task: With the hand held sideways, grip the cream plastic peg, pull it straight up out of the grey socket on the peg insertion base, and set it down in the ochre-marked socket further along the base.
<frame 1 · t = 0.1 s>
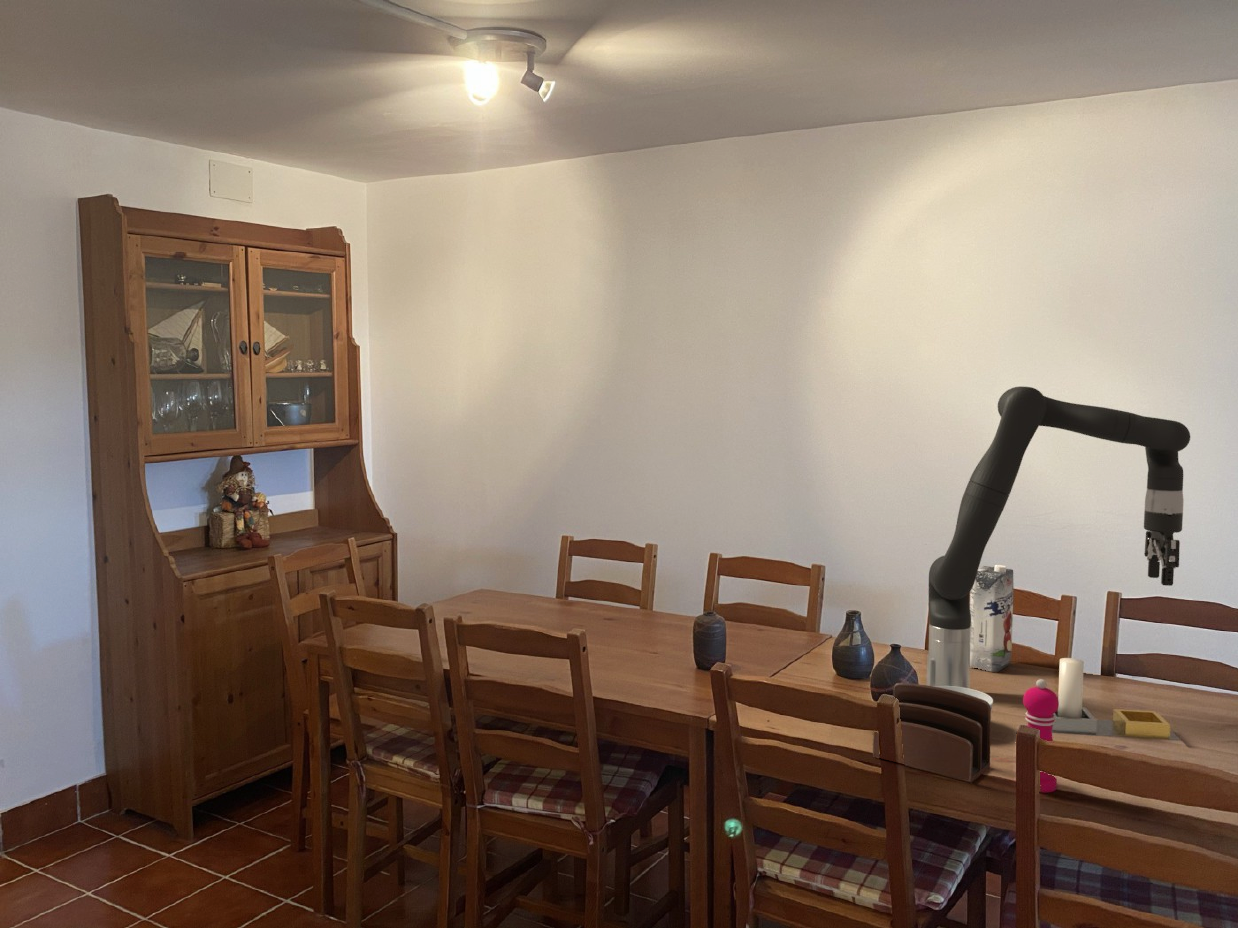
hand: (1160, 581, 220), 29 cm above the table, tool pointing down, fingers open, 8 cm apart
letter holder: (930, 764, 191), on the table
chinaware: (954, 733, 208), on the table
juice carton: (989, 667, 255), on the table
pepper mill: (1037, 786, 180), on the table
cream peg: (1069, 725, 208), point 1 cm above the table, touching peg insertion base
peg insertion base: (1104, 733, 207), on the table
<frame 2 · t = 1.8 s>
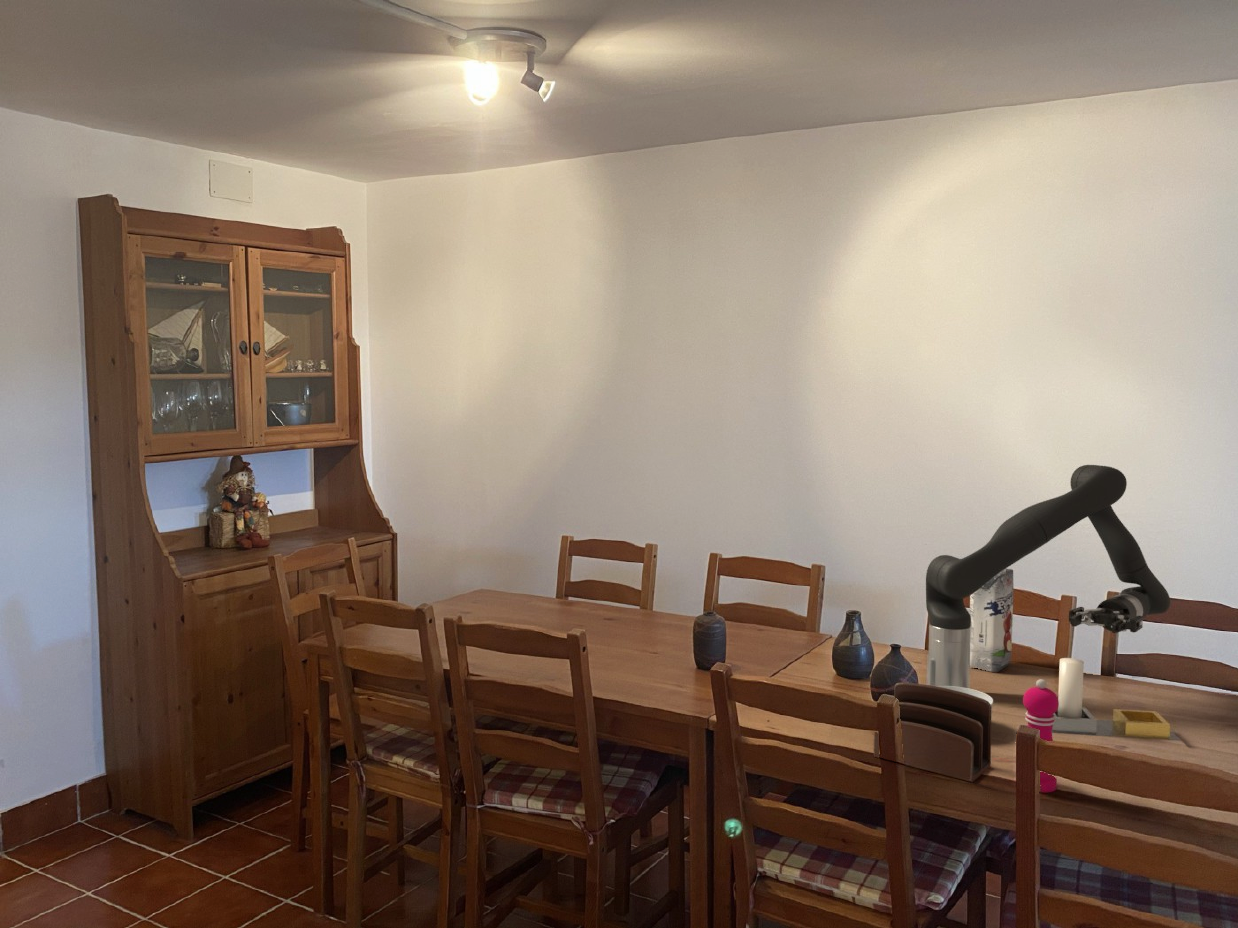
hand: (1093, 625, 214), 21 cm above the table, tool horizontal, fingers open, 8 cm apart
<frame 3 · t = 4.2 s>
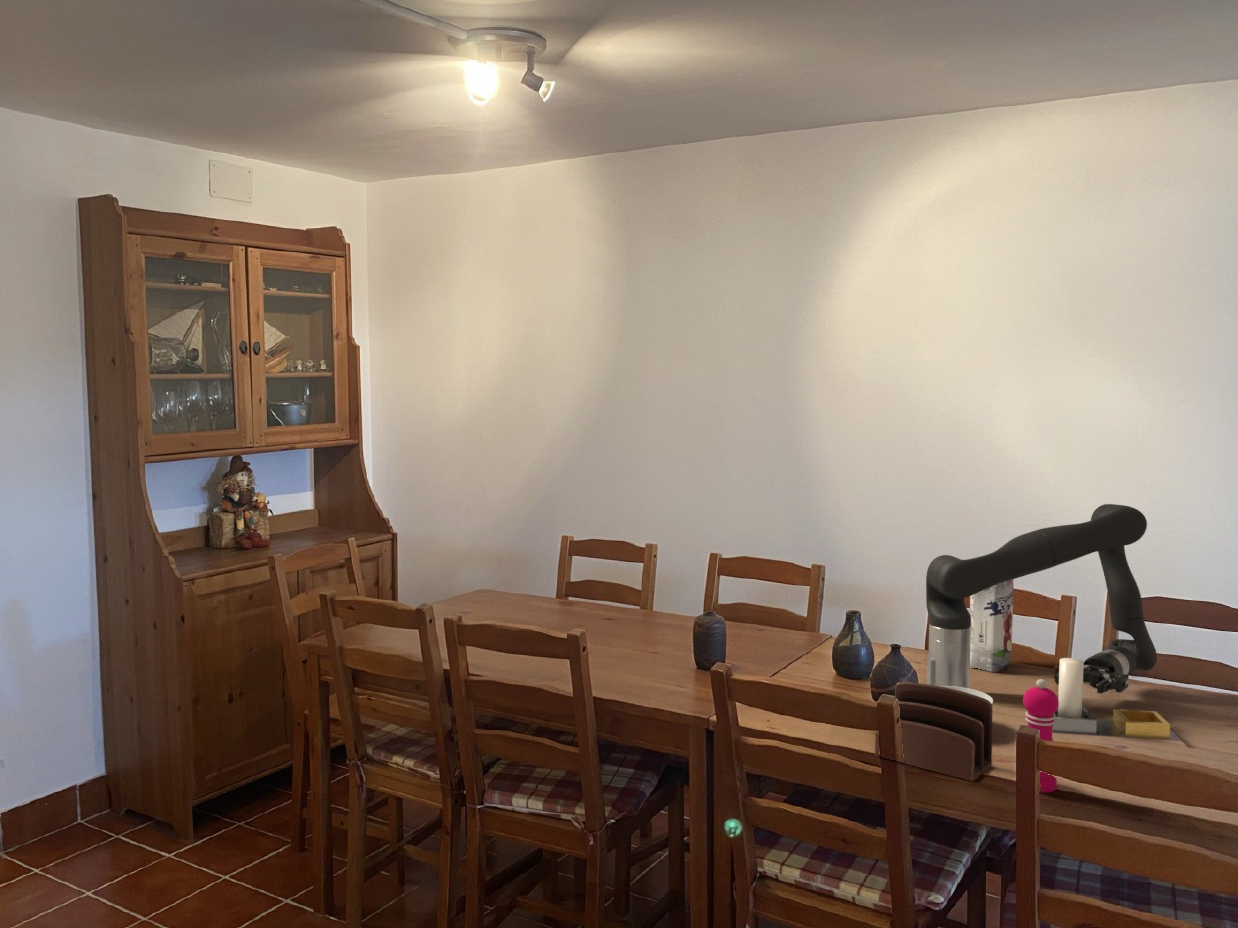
hand: (1078, 684, 210), 9 cm above the table, tool horizontal, fingers open, 8 cm apart
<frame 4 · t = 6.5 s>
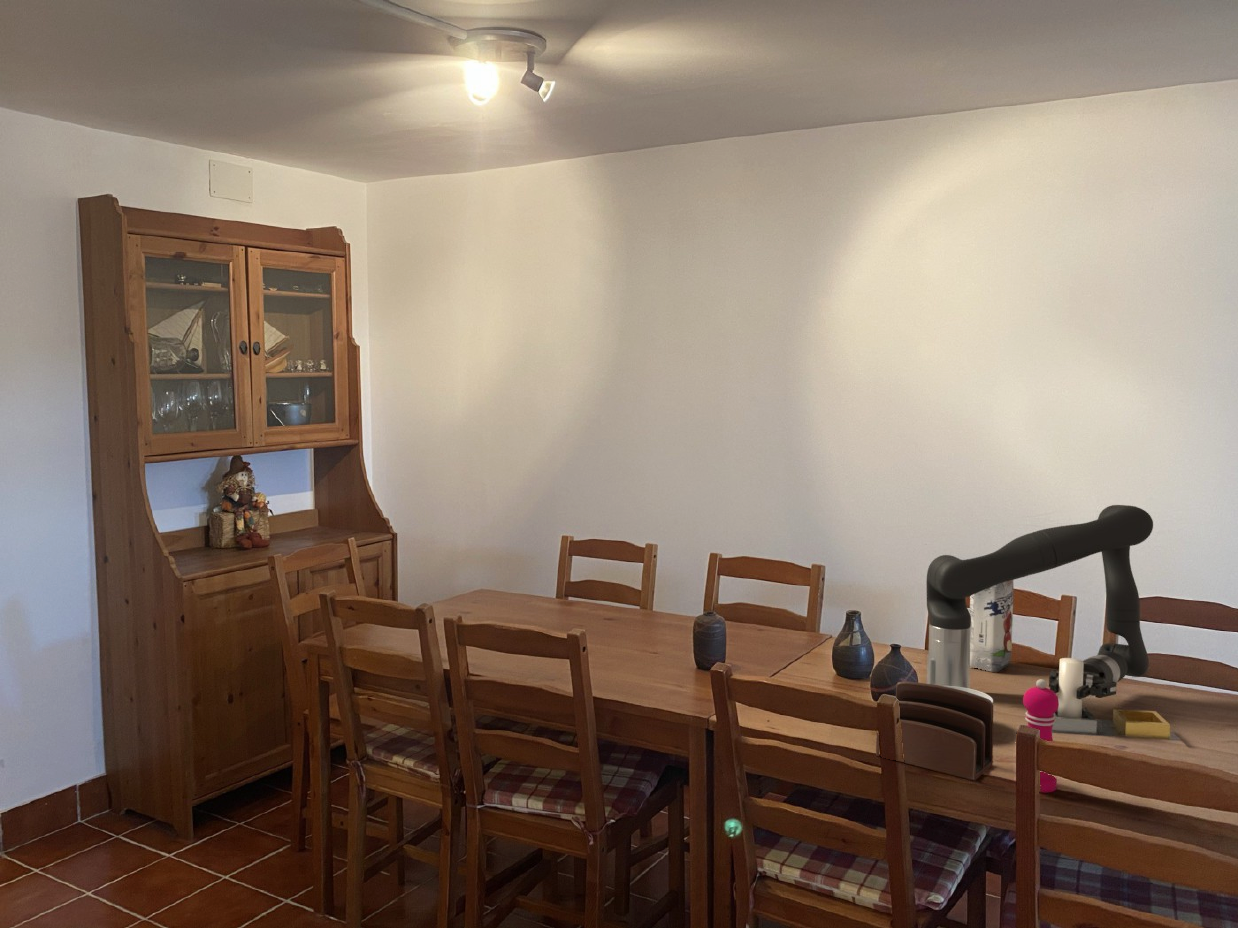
hand: (1065, 691, 205), 9 cm above the table, tool horizontal, fingers closed on cream peg, 4 cm apart
cream peg: (1069, 725, 208), point 1 cm above the table, touching gripper, peg insertion base
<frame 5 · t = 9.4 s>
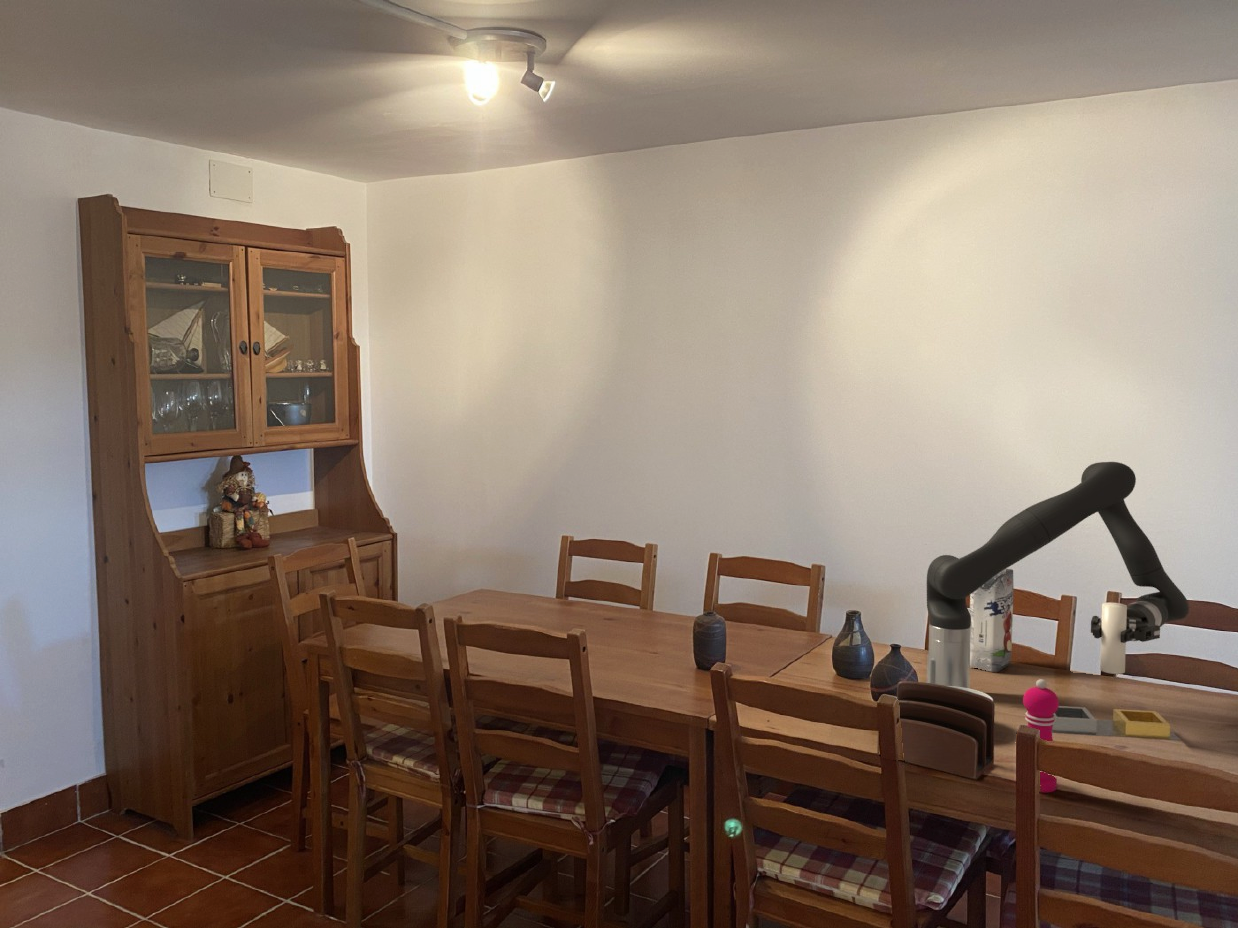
hand: (1109, 635, 203), 21 cm above the table, tool horizontal, fingers closed on cream peg, 4 cm apart
cream peg: (1112, 670, 206), point 14 cm above the table, touching gripper
when the fingers open (10 cm above the table, at t = 12.7 s): cream peg drops 1 cm, resting on peg insertion base.
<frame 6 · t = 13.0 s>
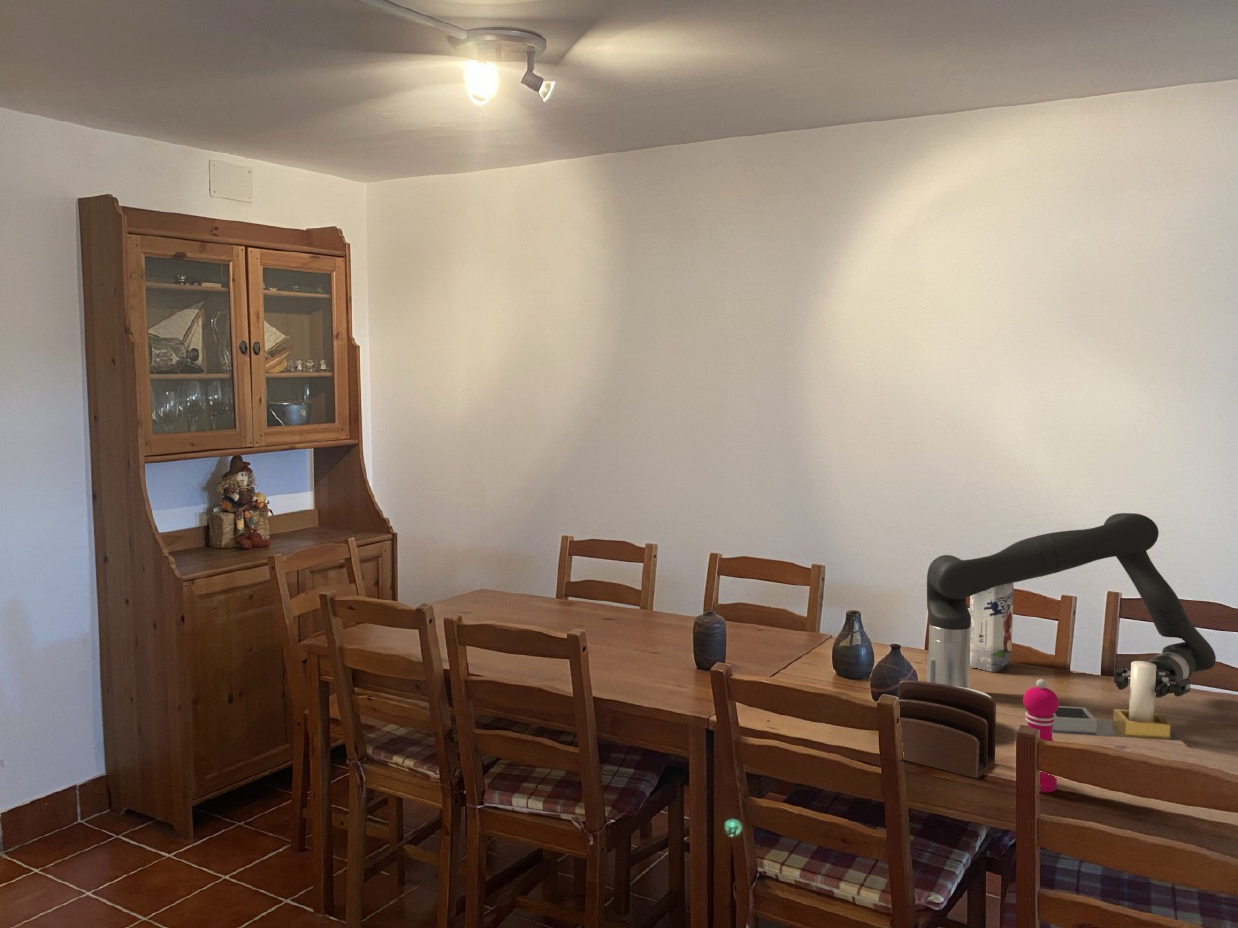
hand: (1138, 688, 203), 10 cm above the table, tool horizontal, fingers open, 6 cm apart
cream peg: (1140, 729, 205), point 1 cm above the table, touching peg insertion base
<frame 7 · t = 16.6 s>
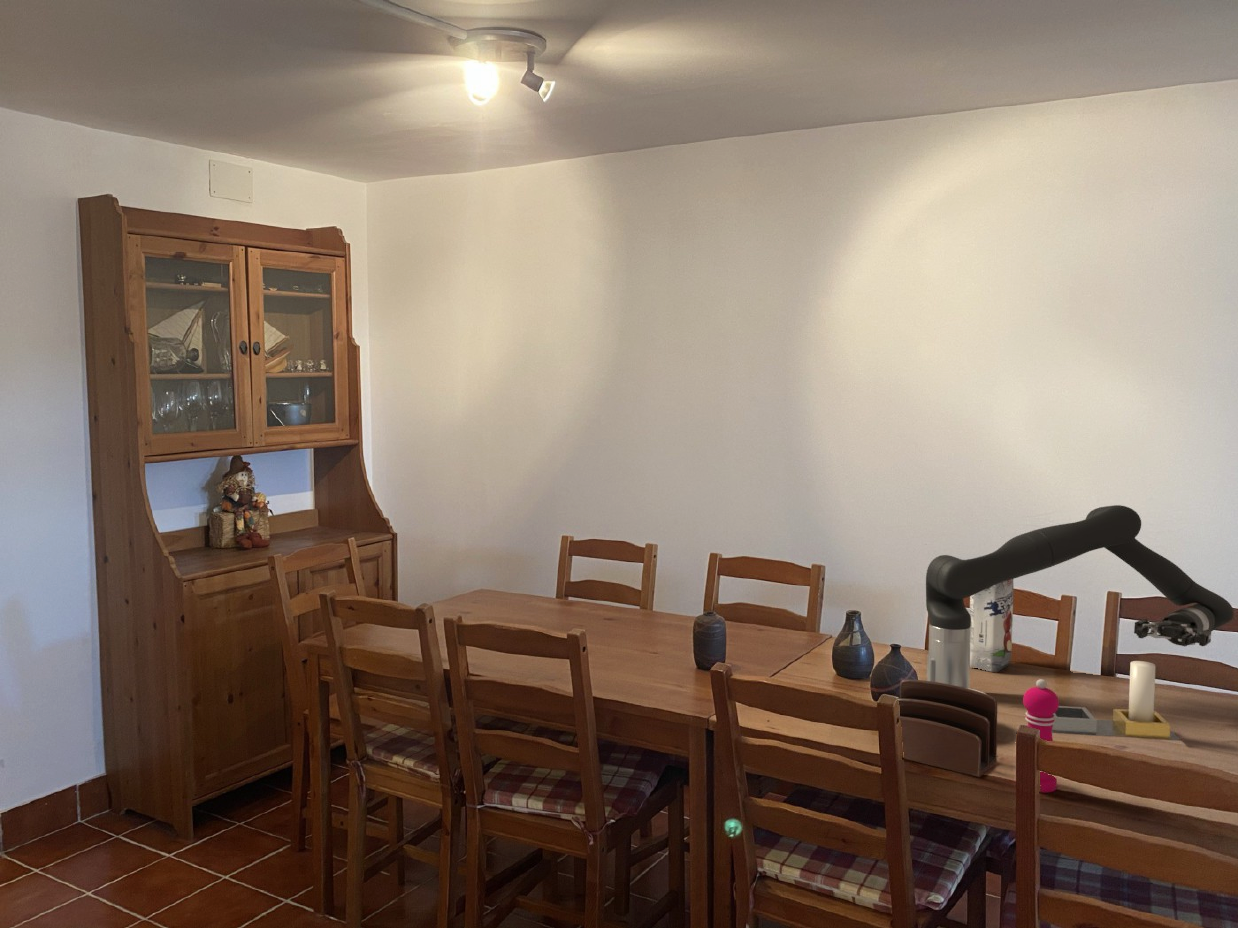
hand: (1161, 637, 211), 19 cm above the table, tool horizontal, fingers open, 8 cm apart
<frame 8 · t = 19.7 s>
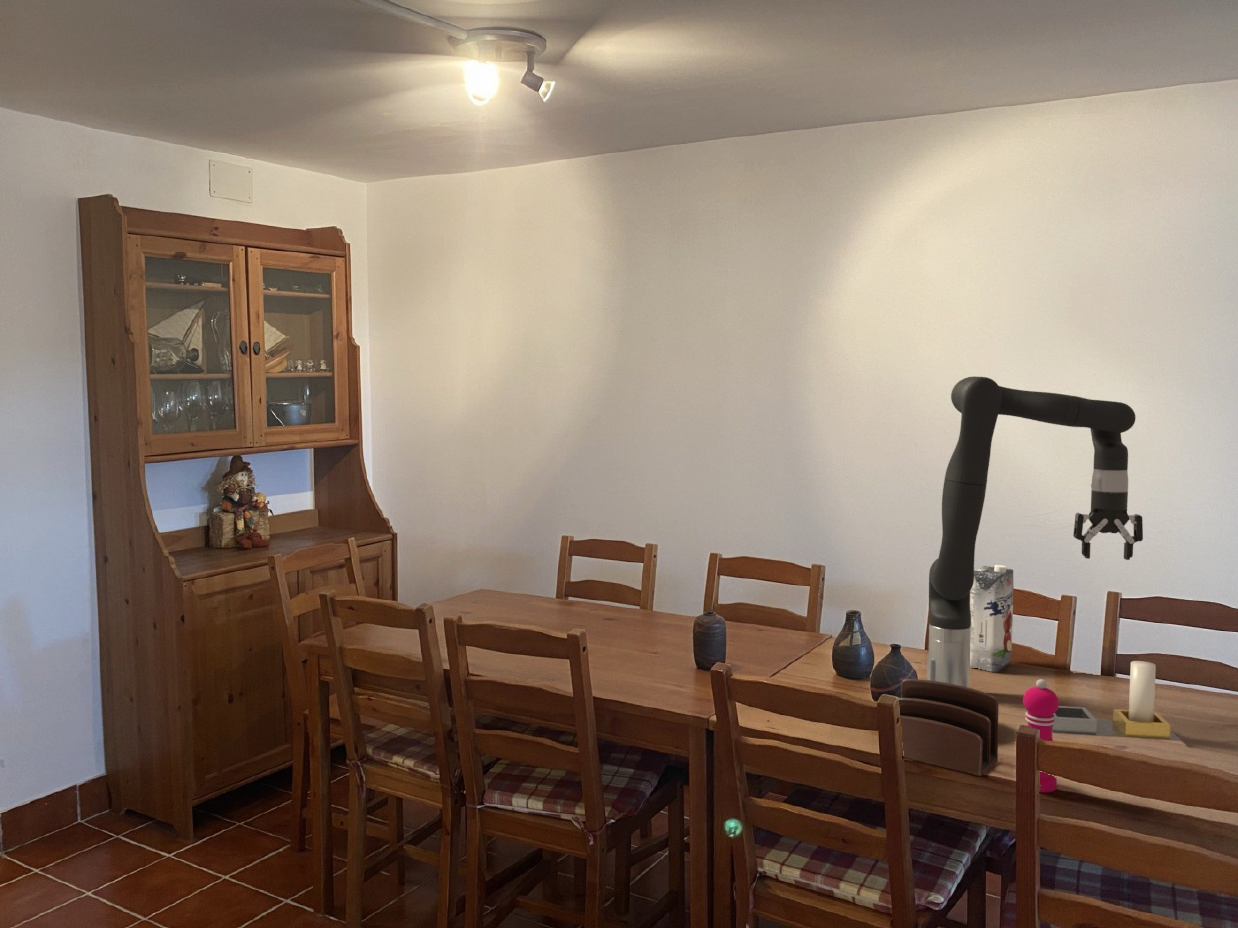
hand: (1106, 558, 226), 33 cm above the table, tool pointing down, fingers open, 8 cm apart
at the end: cream peg 0.1 cm from the target spot on the peg insertion base, point 1.2 cm above the peg insertion base's base; cream peg tilted 1°; the gripper is holding nothing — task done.
